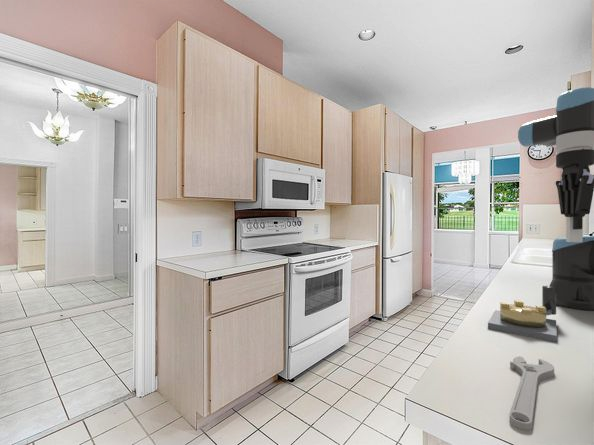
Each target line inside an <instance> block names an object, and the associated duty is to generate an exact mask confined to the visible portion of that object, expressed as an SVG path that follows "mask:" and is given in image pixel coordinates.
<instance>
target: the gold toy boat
mask: <svg viewBox="0 0 594 445" xmlns="http://www.w3.org/2000/svg"><path fill="white" fill-rule="evenodd" d="M541 291H542V293H541V294H542V295H541V297H542V299H541V302H542V304H541V305H535V307H534V306H530V305H525V303H524V301H523V300H517V299H514V302H513V303H509V302H503V301H500V302H499V304H500V305H499V306H500V307H499V311H500V318H501V319H502V320H504V321H506V322H509V323H512V324H516V325H521V326H528V327H543V326H546V319H547V316H551V315H554V316H555V315H557V305H556V287H552V286H550V285H542V290H541Z"/></svg>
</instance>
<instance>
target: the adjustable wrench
mask: <svg viewBox="0 0 594 445" xmlns="http://www.w3.org/2000/svg"><path fill="white" fill-rule="evenodd" d="M509 368H510V369H512V370H514V371H516V372H517V373H518V374H519V375H521V378H520V381H519V385H518V386H517V390H516V393H515V396H514V399H513V400H512V401H513V402H512V405H511V408H510V410H509V423H510V424H511V425H512V427H513V426H514V427H515V428H516V429H519V430H523V431H531V430H532V429H533V428H532V427H533V422H534V414H535V406H536V398H537V391H538V384H539V382H541V381H543V380H545V379H548V378H552V377H554V376H555V366H554V365H553V364H551V363H550V362H548V361H547V360H544V359H543V358H542V359H541V358H538V364H533V363H527V361H526V359H524V357H523V356H515V357H514V358H512V361H509ZM516 419H517V420H516Z"/></svg>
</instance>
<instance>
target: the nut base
mask: <svg viewBox="0 0 594 445" xmlns="http://www.w3.org/2000/svg"><path fill="white" fill-rule="evenodd" d="M487 329H491V330H495V331H501V332H504V333H505V332H506V333H509V334H516V335H520V336H526V337H529V338H530V337H531V338H535V339H539V340H540V339H541V340H544V341H545V340H546V341H550V342H555V343H557V341H558V337H557V335H558V333H557V320H556V319H551V318H550V319H549V318H546V326H543V327H528V326H521V325H516V324H512V323H509V322H506V321H504V320H502V319H501V318H500V310H497V309H496V310H494V312H493V313H492V315H491V317H490V318H489V320H488V322H487Z"/></svg>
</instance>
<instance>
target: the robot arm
mask: <svg viewBox="0 0 594 445" xmlns="http://www.w3.org/2000/svg"><path fill="white" fill-rule="evenodd" d="M555 112H556V113H555V114H556V115H553V116H547V117H545V118H540V119H537V120H532V121H529V122H526V123H524V124H522V125H520V127H519V129H518V131H517V139H518V142H519V144H520V145H521V146H523V147H525V148H526V147H535V146H538V145H540V146H547V147H550V148H555V152H557V154H556V155H555V167H556V168H557V169H561V170H562V172H561V178H560V180H556V181H555V186H556V188H557V194H558V195H557V196H558V203H559V210H560V215H564V217H566V228H565V229H566V230H565V231H566V232H565V233H566V234H565V236H566V237H559V238H558V237H557V238H556V239H555V240H553V242H552V249H551V254H552V256H551V261H552V263H551V265H552V267H551V270H552V272H551V273H552V279H551V282H550V284H549V286H552V287H556V306H560V307H565V308H570V309H577V310H586V311H594V235H593V236H591V235H590V236H583V232H584V231H583V227H584V226H583V225H584V224H583V223H584V222H583V221H584V219H583V218H584V217H585V216H586V215H589V214H590V213H591V208H592V202H593V196H594V174H592V173H591V170H590V166H591V167H592V166H594V87H591V86H589V87H587V86H586V87H579V88H574V89H570V90H568V91H565V92H563V93H561V94H560V95H559V96H558V97H557V100H556V108H555Z"/></svg>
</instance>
